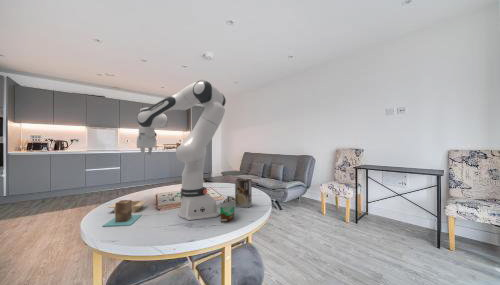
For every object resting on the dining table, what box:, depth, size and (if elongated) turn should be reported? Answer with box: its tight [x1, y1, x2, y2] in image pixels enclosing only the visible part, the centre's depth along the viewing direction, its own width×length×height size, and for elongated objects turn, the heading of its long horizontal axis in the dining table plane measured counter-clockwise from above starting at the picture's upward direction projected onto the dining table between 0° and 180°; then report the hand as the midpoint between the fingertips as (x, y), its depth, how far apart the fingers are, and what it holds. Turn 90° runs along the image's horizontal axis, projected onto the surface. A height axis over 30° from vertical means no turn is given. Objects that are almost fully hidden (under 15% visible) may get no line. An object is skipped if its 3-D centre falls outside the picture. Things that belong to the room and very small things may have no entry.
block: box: [114, 199, 133, 222], centre depth 93 cm, size 5×5×9 cm
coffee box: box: [234, 177, 253, 208], centre depth 117 cm, size 9×6×16 cm
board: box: [102, 214, 142, 228], centre depth 93 cm, size 12×12×1 cm
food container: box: [219, 195, 236, 224], centre depth 96 cm, size 12×6×10 cm, turn 168°
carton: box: [108, 200, 148, 214], centre depth 109 cm, size 16×10×4 cm, turn 97°
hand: (146, 155), depth 121 cm, fingers open, 8 cm apart
